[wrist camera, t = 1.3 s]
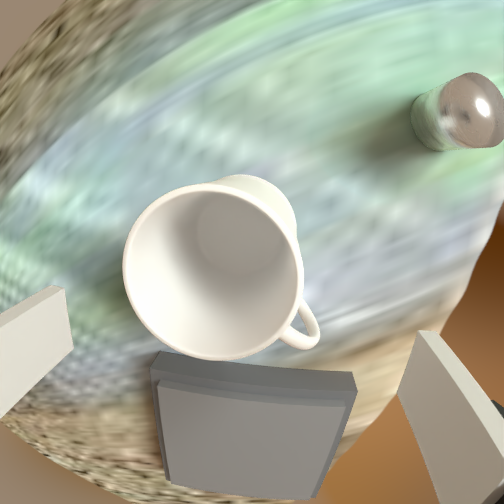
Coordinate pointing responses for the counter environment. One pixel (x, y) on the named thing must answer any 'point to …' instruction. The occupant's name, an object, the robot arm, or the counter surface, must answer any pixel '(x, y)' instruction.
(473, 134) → the spice tin
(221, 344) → the mug
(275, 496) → the podium
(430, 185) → the counter surface
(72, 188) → the counter surface
